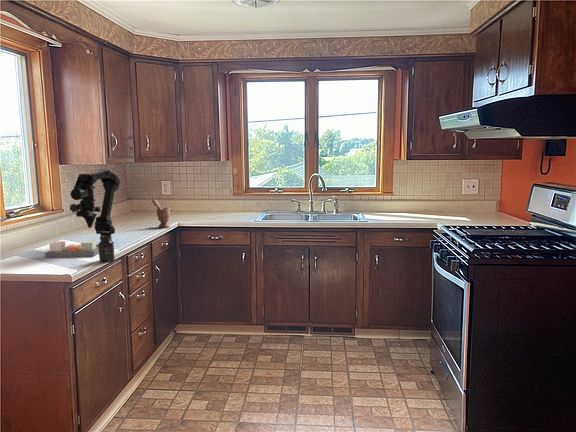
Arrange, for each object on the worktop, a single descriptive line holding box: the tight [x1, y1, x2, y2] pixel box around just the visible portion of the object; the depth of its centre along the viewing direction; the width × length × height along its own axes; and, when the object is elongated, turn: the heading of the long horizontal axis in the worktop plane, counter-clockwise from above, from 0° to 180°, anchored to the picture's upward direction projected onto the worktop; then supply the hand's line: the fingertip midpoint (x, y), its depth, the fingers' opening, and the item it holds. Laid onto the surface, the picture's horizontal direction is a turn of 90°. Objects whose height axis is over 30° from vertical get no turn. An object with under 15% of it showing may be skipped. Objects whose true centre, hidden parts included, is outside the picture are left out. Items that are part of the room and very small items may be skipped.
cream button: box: [48, 240, 67, 252], centre depth 221 cm, size 5×5×4 cm
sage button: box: [80, 240, 97, 251], centre depth 222 cm, size 5×5×4 cm
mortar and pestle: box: [151, 198, 171, 229], centre depth 297 cm, size 12×9×20 cm
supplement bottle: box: [97, 235, 116, 263], centre depth 210 cm, size 7×7×12 cm
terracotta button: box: [65, 244, 81, 251], centre depth 222 cm, size 5×5×4 cm
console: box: [44, 246, 99, 259], centre depth 222 cm, size 10×23×2 cm, turn 95°
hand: (89, 227), depth 230 cm, fingers closed
